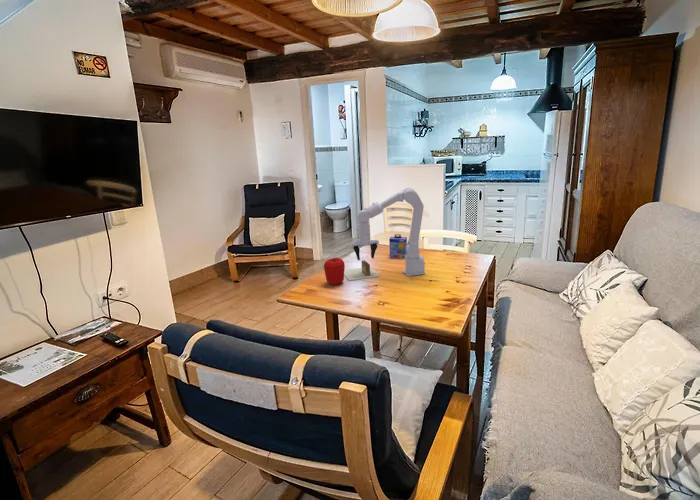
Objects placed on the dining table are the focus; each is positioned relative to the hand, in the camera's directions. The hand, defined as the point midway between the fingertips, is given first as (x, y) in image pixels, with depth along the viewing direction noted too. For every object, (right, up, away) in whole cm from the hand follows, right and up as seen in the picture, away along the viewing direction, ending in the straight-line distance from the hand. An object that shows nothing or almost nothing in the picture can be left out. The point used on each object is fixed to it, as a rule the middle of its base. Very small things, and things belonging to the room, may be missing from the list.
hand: (365, 258), depth 201 cm
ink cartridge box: (+21, 0, +29) cm, 35 cm away
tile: (0, -8, +2) cm, 8 cm away
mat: (-3, -8, +3) cm, 9 cm away
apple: (-15, -12, -8) cm, 21 cm away
